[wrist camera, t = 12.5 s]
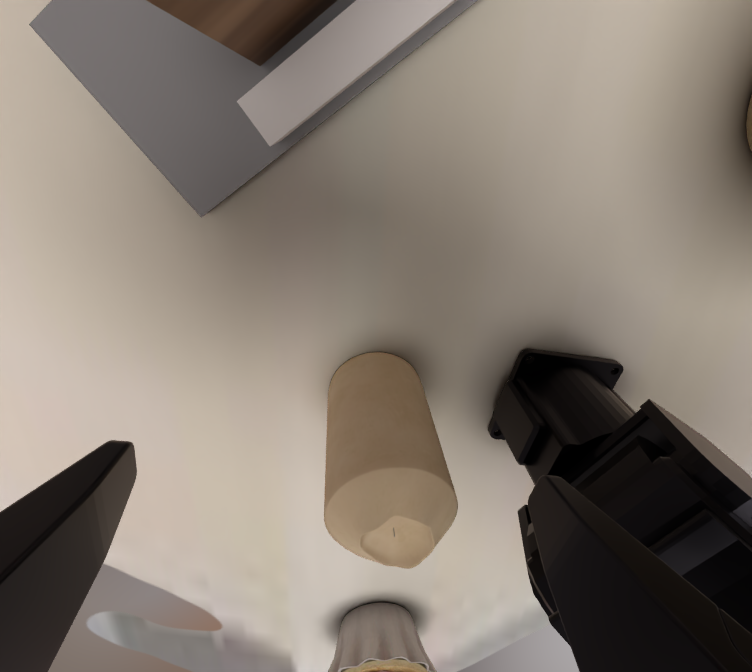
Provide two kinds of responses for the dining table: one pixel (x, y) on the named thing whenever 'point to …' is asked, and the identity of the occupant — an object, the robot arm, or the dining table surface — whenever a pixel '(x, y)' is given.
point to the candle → (384, 464)
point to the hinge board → (228, 80)
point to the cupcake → (379, 642)
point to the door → (247, 22)
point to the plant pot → (749, 124)
